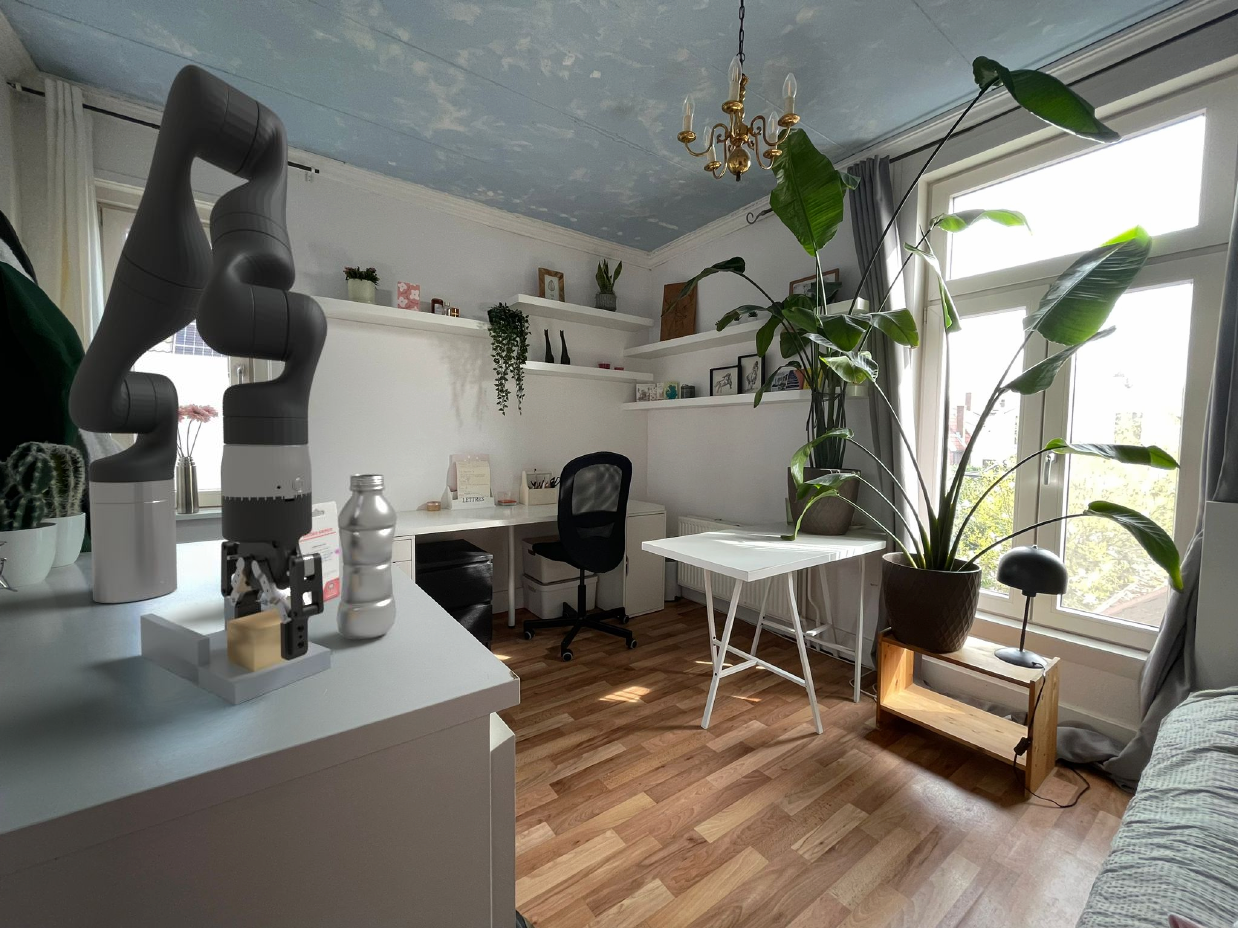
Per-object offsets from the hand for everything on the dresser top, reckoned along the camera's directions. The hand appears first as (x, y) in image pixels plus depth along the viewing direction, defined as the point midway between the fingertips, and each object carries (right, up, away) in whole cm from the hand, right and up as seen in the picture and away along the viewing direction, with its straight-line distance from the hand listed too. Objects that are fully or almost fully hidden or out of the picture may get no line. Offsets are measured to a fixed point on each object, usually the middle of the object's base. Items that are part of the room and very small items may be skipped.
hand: (270, 647), depth 52 cm
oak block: (-1, -1, 0) cm, 1 cm away
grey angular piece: (-6, -3, +4) cm, 8 cm away
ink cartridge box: (-11, -2, +23) cm, 25 cm away
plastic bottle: (+4, -3, +11) cm, 13 cm away
